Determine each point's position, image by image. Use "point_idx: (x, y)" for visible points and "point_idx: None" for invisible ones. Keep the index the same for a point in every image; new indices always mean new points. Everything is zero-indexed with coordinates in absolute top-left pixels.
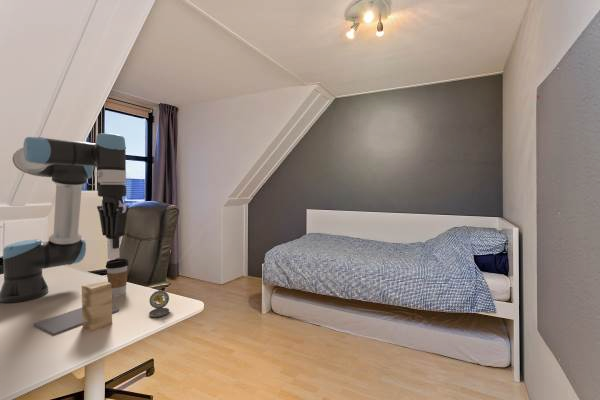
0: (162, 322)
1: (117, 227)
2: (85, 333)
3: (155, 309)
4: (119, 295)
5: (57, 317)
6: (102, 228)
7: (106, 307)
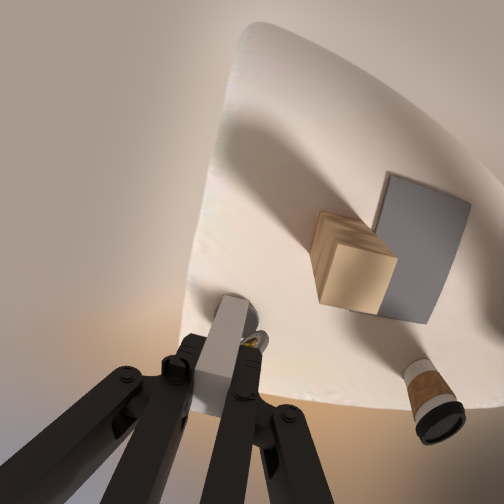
0: (196, 285)
1: (71, 408)
2: (328, 198)
3: (255, 327)
4: (408, 366)
5: (450, 239)
6: (302, 451)
7: (316, 257)
